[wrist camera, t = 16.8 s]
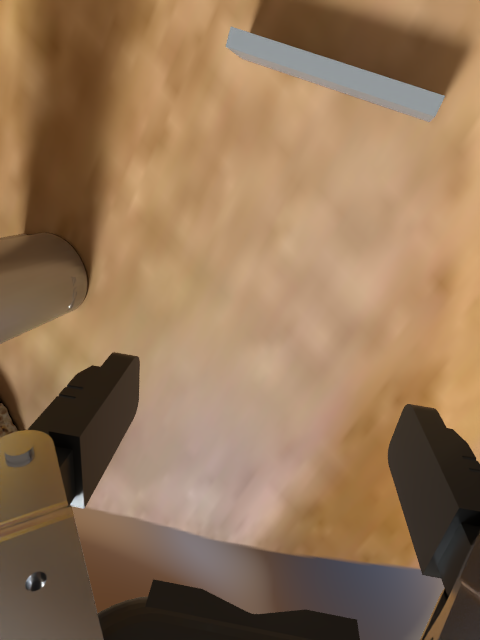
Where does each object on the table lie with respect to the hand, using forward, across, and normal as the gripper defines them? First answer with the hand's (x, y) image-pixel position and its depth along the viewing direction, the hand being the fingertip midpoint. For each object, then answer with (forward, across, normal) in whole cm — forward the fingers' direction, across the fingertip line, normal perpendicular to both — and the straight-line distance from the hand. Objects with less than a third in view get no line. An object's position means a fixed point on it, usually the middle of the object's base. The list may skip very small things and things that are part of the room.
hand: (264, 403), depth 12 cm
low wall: (+25, -2, -12) cm, 27 cm away
